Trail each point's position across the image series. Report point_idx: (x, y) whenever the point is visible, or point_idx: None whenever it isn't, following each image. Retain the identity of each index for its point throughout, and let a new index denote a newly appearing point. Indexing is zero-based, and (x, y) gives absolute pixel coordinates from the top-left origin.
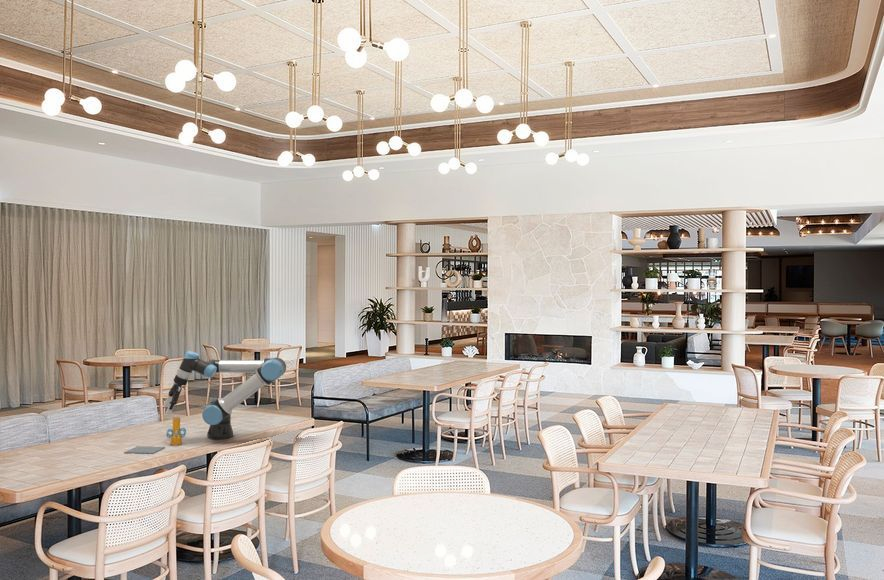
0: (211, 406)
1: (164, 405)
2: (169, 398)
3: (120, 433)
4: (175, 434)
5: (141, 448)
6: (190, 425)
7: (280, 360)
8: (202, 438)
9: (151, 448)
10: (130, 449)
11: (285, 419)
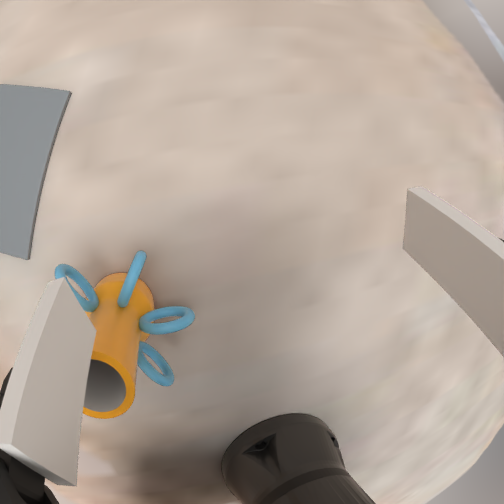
0: None
1: (413, 200)
2: (497, 298)
3: (404, 19)
4: None
5: (13, 133)
6: None
7: None
8: (261, 402)
9: (2, 190)
10: (9, 85)
11: (448, 482)
